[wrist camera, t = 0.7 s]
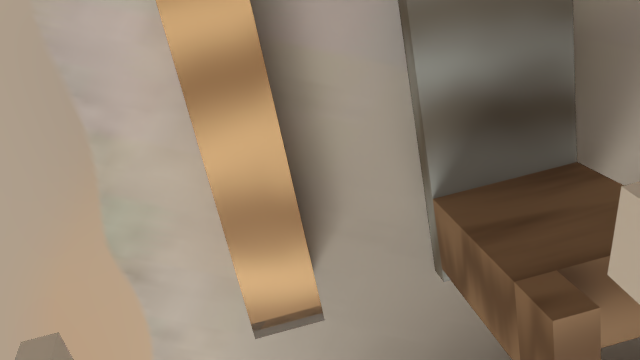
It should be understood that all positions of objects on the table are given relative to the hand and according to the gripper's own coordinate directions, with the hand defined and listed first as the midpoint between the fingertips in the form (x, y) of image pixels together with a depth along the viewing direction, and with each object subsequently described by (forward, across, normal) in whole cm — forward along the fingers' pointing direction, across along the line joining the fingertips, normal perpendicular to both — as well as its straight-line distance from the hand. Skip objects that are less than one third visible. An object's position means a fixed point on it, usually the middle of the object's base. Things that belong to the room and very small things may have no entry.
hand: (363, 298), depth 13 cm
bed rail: (+20, +2, 0) cm, 20 cm away
